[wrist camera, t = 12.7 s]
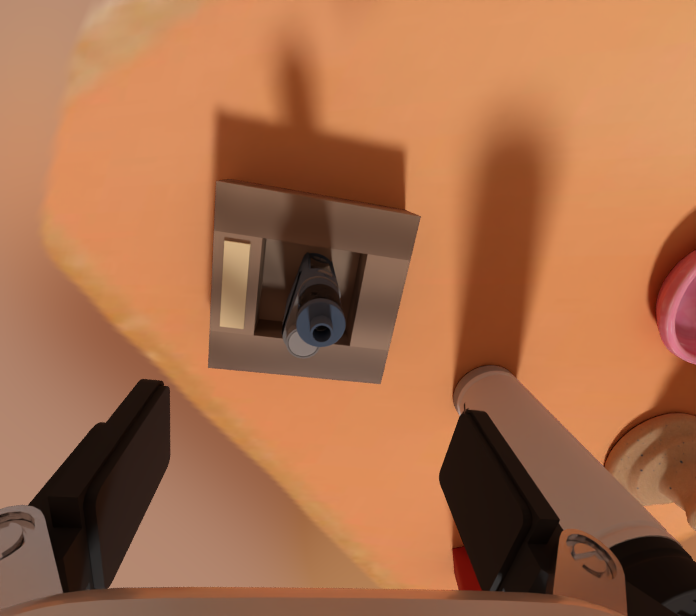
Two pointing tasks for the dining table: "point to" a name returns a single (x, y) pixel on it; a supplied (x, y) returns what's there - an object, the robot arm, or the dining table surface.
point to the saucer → (679, 309)
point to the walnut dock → (282, 267)
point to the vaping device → (313, 308)
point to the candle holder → (659, 462)
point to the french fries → (464, 571)
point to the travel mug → (582, 488)
